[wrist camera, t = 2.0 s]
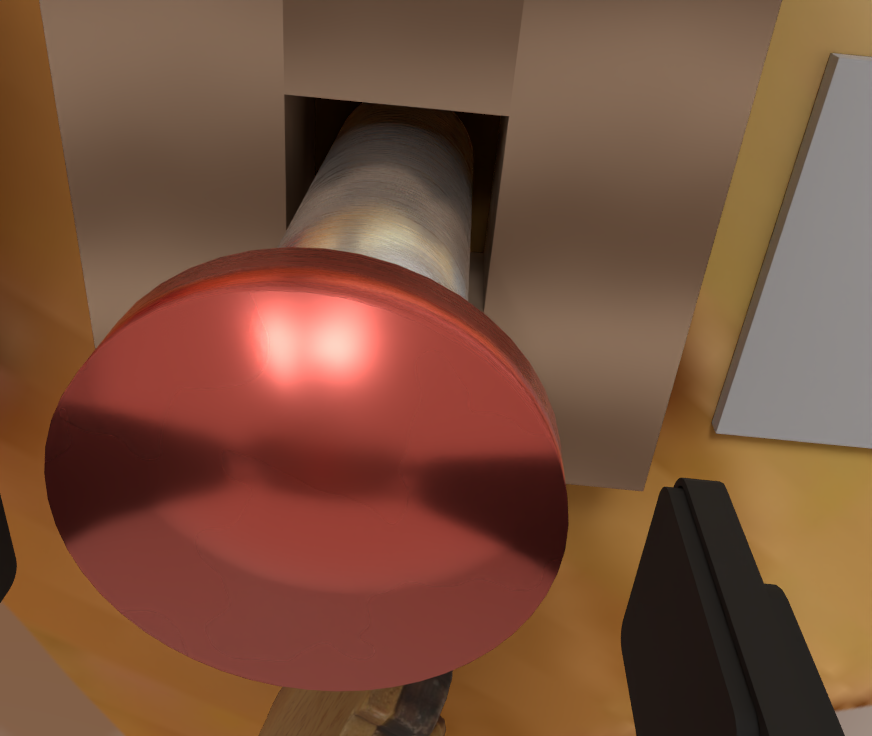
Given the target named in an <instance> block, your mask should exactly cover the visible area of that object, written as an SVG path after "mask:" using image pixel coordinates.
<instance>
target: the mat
mask: <svg viewBox="0 0 872 736" xmlns="http://www.w3.org/2000/svg"><path fill="white" fill-rule="evenodd" d="M712 425H713V427H714V430H715V432H716V433H718V434H728V435H738V436H748V437H759V438H769V439H779V440H790V441H800V442H810V443H820V444H831V445H841V446H851V447H861V448H872V57H867V56H856V55H846V54H836V53H831V54H830V57H829V60H828V63H827V67H826V70H825V73H824V76H823V79H822V82H821V85H820V88H819V91H818V94H817V98H816V101H815V104H814V107H813V110H812V113H811V116H810V119H809V122H808V125H807V129H806V132H805V135H804V138H803V141H802V144H801V147H800V150H799V153H798V157H797V160H796V163H795V166H794V169H793V172H792V175H791V178H790V181H789V184H788V188H787V191H786V194H785V197H784V200H783V203H782V206H781V209H780V212H779V216H778V219H777V222H776V225H775V228H774V231H773V234H772V237H771V240H770V243H769V247H768V250H767V253H766V256H765V259H764V262H763V265H762V268H761V271H760V275H759V278H758V281H757V284H756V287H755V290H754V293H753V296H752V299H751V302H750V306H749V309H748V312H747V315H746V318H745V321H744V324H743V327H742V330H741V333H740V337H739V340H738V343H737V346H736V349H735V352H734V355H733V358H732V361H731V365H730V368H729V371H728V374H727V377H726V380H725V383H724V386H723V389H722V392H721V396H720V399H719V402H718V405H717V408H716V411H715V414H714V417H713V420H712Z"/></svg>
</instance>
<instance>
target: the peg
mask: <svg viewBox="0 0 872 736" xmlns="http://www.w3.org/2000/svg"><path fill="white" fill-rule="evenodd" d="M473 166H474V156H473V148H472V144H471V140H470V137H469V135H468V132H467V130H466V128H465V127H464V125H463V123H462V122H461V120H460V119H459V118H458V116H457V115H456V114H455V113H454V112H453V111H450V110H440V109H430V108H419V107H409V106H399V105H389V104H378V103H368V102H363V103H362V104H360V105H359V106H358V107H357V108H356V109H355V110H354V111H353V112H352V113H351V114H350V115H349V117H348V118H347V119H346V121H345V122H344V124H343V126H342V128H341V130H340V132H339V134H338V136H337V137H336V139H335V141H334V143H333V145H332V147H331V149H330V150H329V152H328V154H327V156H326V158H325V160H324V162H323V163H322V165H321V167H320V169H319V171H318V173H317V175H316V176H315V178H314V180H313V182H312V184H311V186H310V188H309V190H308V191H307V193H306V195H305V197H304V199H303V201H302V203H301V204H300V206H299V208H298V210H297V212H296V214H295V216H294V217H293V219H292V221H291V223H290V225H289V227H288V229H287V230H286V232H285V234H284V236H283V238H282V240H281V242H280V244H279V245H278V247H277V248H271V249H260V250H251V251H246V252H242V253H237V254H233V255H228V256H224V257H219V258H216V259H214V260H211V261H208V262H205V263H203V264H200V265H197V266H194V267H192V268H189V269H187V270H185V271H183V272H181V273H179V274H178V275H176V276H174V277H172V278H170V279H168V280H166V281H165V282H163V283H161V284H159V285H158V286H157V287H155V288H154V289H153V290H151V291H150V292H149V293H148V294H146V295H145V296H144V297H142V298H141V299H140V300H138V301H137V302H136V303H135V304H134V305H133V306H132V307H131V308H130V309H129V310H128V311H127V312H126V313H125V314H124V316H123V317H122V318H121V319H120V320H119V321H118V322H117V323H116V324H115V325H114V327H113V328H112V329H111V330H110V332H109V333H108V334H107V336H106V337H105V338H104V339H103V341H102V342H101V343H100V344H99V346H98V347H97V348H96V349H95V351H94V352H93V353H92V354H91V356H90V357H89V358H88V359H87V361H86V362H85V363H84V364H83V366H82V367H81V368H80V369H79V371H78V372H77V373H76V375H75V376H74V378H73V380H72V381H71V383H70V384H69V386H68V387H67V389H66V390H65V392H64V393H63V395H62V396H61V399H60V401H59V403H58V406H57V408H56V411H55V413H54V415H53V418H52V420H51V424H50V428H49V433H48V437H47V442H46V446H45V471H44V474H45V481H46V489H47V496H48V501H49V504H50V508H51V511H52V514H53V517H54V521H55V524H56V526H57V529H58V531H59V533H60V535H61V537H62V539H63V541H64V543H65V545H66V547H67V549H68V551H69V553H70V554H71V556H72V557H73V559H74V560H75V562H76V563H77V565H78V566H79V568H80V569H81V571H82V572H83V574H84V575H85V576H86V577H87V578H88V580H89V581H90V582H91V583H92V584H93V586H94V587H95V588H96V589H97V590H98V591H99V593H100V594H101V595H102V596H103V597H104V598H105V599H106V600H108V601H109V602H110V603H111V604H112V605H113V606H114V607H115V608H116V609H117V610H118V611H119V612H120V613H121V614H123V615H124V616H125V617H126V618H128V619H129V620H130V621H132V622H133V623H134V624H135V625H137V626H138V627H139V628H141V629H142V630H143V631H145V632H146V633H148V634H149V635H151V636H153V637H154V638H156V639H157V640H159V641H161V642H162V643H164V644H165V645H167V646H169V647H171V648H173V649H174V650H176V651H178V652H180V653H182V654H184V655H186V656H188V657H190V658H192V659H194V660H196V661H199V662H201V663H204V664H206V665H209V666H211V667H214V668H216V669H219V670H221V671H224V672H227V673H231V674H234V675H237V676H240V677H243V678H247V679H250V680H254V681H259V682H263V683H268V684H272V685H277V686H283V687H290V688H297V689H305V690H319V691H365V690H374V689H382V688H391V687H396V686H401V685H406V684H410V683H415V682H420V681H423V680H426V679H429V678H432V677H435V676H439V675H442V674H445V673H447V672H450V671H452V670H454V669H456V668H459V667H461V666H463V665H466V664H468V663H470V662H472V661H474V660H475V659H477V658H479V657H480V656H482V655H484V654H486V653H487V652H489V651H491V650H493V649H494V648H495V647H496V646H498V645H499V644H500V643H502V642H503V641H504V640H506V639H507V638H508V637H510V636H511V635H512V634H513V633H514V632H515V631H516V630H517V629H518V628H519V627H520V626H521V625H522V624H523V623H524V622H525V621H526V620H527V619H528V618H529V617H530V616H531V615H532V614H533V613H534V611H535V610H536V609H537V607H538V606H539V604H540V603H541V602H542V600H543V599H544V598H545V596H546V595H547V593H548V591H549V589H550V587H551V585H552V583H553V581H554V579H555V577H556V575H557V573H558V570H559V567H560V564H561V561H562V558H563V554H564V551H565V546H566V539H567V531H568V501H567V491H566V483H565V475H564V467H563V460H562V452H561V444H560V438H559V433H558V428H557V424H556V419H555V414H554V412H553V409H552V406H551V404H550V401H549V399H548V396H547V393H546V391H545V388H544V387H543V385H542V383H541V381H540V380H539V378H538V376H537V374H536V373H535V371H534V369H533V367H532V366H531V364H530V362H529V361H528V360H527V358H526V357H525V356H524V355H523V353H522V352H521V351H520V350H519V348H518V347H517V346H516V344H515V343H514V342H513V341H512V339H511V338H510V337H509V336H508V335H507V334H506V333H505V332H504V331H503V330H502V329H501V328H500V327H499V326H497V325H496V324H495V323H494V322H493V321H492V320H491V319H490V318H489V317H488V316H487V315H486V314H484V313H483V312H482V311H480V310H479V309H478V308H476V307H475V306H474V305H472V304H471V303H470V302H468V291H469V266H470V241H471V216H472V191H473Z"/></svg>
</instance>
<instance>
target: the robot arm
mask: <svg viewBox="0 0 872 736" xmlns="http://www.w3.org/2000/svg"><path fill="white" fill-rule="evenodd" d="M16 568H17V563H16V557H15V553H14V549H13V545H12V541H11V536H10V532H9V528H8V524H7V520H6V516H5V512H4V508H3V504H2V500H1V495H0V603H1V601H2V600H3V598H4V597H5V595H6V594H7V592H8V591H9V589H10V588H11V586H12V584H13V581H14V579H15V575H16ZM621 648H622V655H623V660H624V666H625V672H626V677H627V683H628V689H629V695H630V700H631V706H632V712H633V717H634V723H635V729H636V735H637V736H845V735H844V733H843V730H842V728H841V725H840V723H839V720H838V718H837V716H836V713H835V711H834V709H833V706H832V704H831V701H830V699H829V697H828V694H827V692H826V689H825V687H824V685H823V682H822V680H821V678H820V675H819V673H818V670H817V668H816V666H815V663H814V661H813V658H812V656H811V654H810V651H809V649H808V647H807V644H806V642H805V639H804V637H803V635H802V632H801V630H800V627H799V625H798V623H797V620H796V618H795V616H794V613H793V611H792V608H791V606H790V604H789V601H788V599H787V597H786V596H785V594H784V592H783V590H782V589H781V588H779V587H778V586H777V585H772V584H764V583H763V580H762V578H761V575H760V573H759V570H758V568H757V565H756V563H755V560H754V558H753V555H752V552H751V550H750V547H749V545H748V542H747V540H746V537H745V535H744V532H743V530H742V527H741V525H740V522H739V519H738V517H737V514H736V512H735V509H734V507H733V504H732V502H731V499H730V497H729V494H728V492H727V489H726V487H725V485H724V484H723V483H722V482H719V481H709V480H699V479H689V478H679V479H678V480H677V481H676V483H675V485H674V488H673V487H663V488H662V490H661V491H660V494H659V497H658V501H657V504H656V508H655V511H654V515H653V518H652V522H651V525H650V529H649V532H648V536H647V539H646V543H645V546H644V550H643V553H642V556H641V560H640V563H639V567H638V570H637V574H636V577H635V581H634V584H633V588H632V591H631V595H630V598H629V602H628V605H627V609H626V612H625V616H624V619H623V623H622V630H621Z"/></svg>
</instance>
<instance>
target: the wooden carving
mask: <svg viewBox="0 0 872 736" xmlns="http://www.w3.org/2000/svg"><path fill="white" fill-rule="evenodd" d="M452 673H453V670H452V671H450V672H447V673H445V674H442V675H439V676H435V677H432V678H429V679H426V680H423V681H420V682H415V683H410V684H406V685H401V686H396V687H391V688H382V689H374V690H365V691H319V690H305V689H297V688H290V687H282V689H281V690H280V692H279V693H278V695H277V697H276V699H275V701H274V702H273V705H272V707H271V709H270V712H269V714H268V716H267V719H266V721H265V723H264V725H263V727H262V729H261V731H260V733H259V736H444V734H445V731H446V726H445V721H444V719H443V718H442V717H441V716H440V713H441V711H442V708H443V706H444V704H445V701H446V699H447V695H448V691H449V687H450V684H451V680H452Z"/></svg>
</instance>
